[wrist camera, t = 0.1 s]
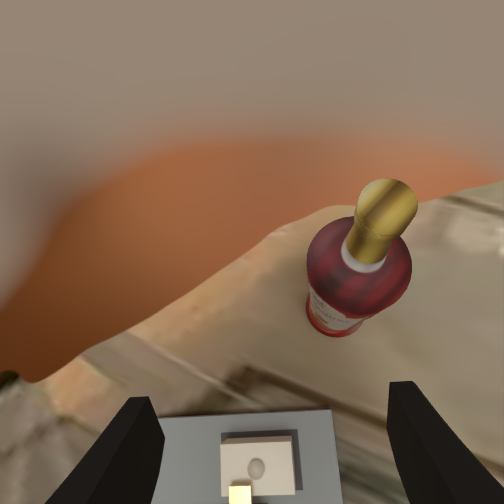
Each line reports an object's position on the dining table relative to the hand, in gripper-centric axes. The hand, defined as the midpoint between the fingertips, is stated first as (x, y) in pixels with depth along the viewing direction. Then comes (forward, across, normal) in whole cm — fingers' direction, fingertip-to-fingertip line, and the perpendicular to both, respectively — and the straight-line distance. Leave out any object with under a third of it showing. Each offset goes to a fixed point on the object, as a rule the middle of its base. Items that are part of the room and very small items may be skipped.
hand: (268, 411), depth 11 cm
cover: (+15, +4, +27) cm, 31 cm away
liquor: (+28, -6, +18) cm, 34 cm away
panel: (+14, +6, +30) cm, 34 cm away
